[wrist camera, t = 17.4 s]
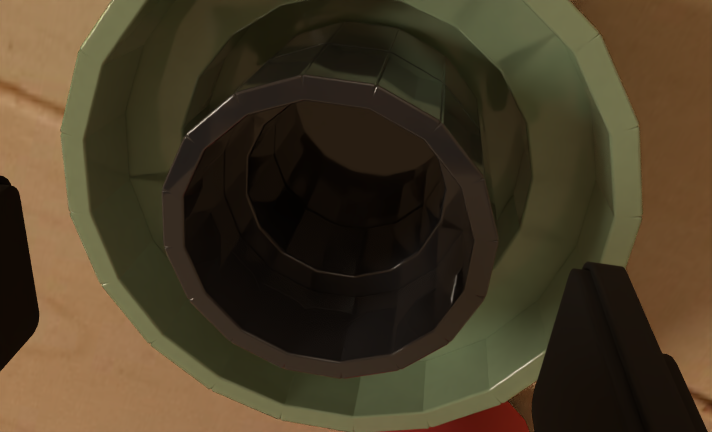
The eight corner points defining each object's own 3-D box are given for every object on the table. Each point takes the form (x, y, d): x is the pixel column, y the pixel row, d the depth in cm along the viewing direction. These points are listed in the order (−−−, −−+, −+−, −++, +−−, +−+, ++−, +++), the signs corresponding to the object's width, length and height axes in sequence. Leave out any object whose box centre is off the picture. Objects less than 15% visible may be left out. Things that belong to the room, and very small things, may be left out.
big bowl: (158, 291, 23) (87, 387, 19) (138, -134, 17) (28, -142, 13) (538, 353, 22) (559, 470, 18) (659, -75, 16) (737, -60, 12)
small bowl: (240, 232, 21) (166, 350, 16) (245, 4, 18) (154, 54, 12) (461, 266, 20) (463, 400, 15) (507, 37, 17) (530, 105, 12)
